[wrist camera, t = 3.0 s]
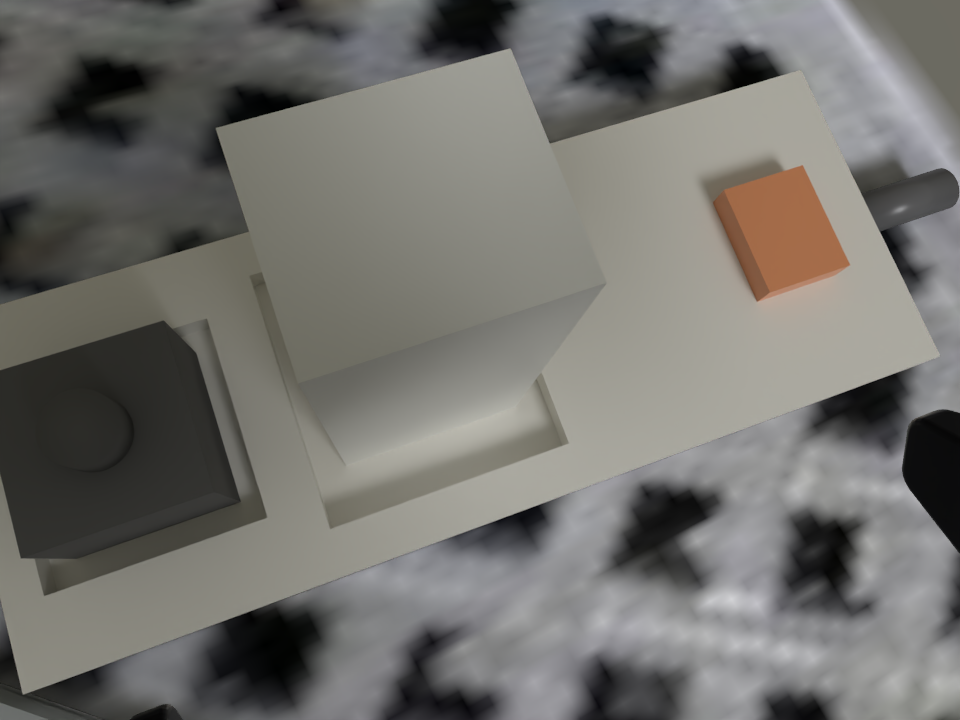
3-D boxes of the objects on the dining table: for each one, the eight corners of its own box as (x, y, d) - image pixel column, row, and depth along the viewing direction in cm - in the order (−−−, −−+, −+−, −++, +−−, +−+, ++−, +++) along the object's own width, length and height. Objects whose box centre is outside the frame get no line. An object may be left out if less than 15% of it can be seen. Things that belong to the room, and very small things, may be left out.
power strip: (860, 75, 26) (905, 27, 24) (992, 337, 24) (1055, 313, 22) (-32, 340, 22) (-84, 313, 19) (52, 684, 20) (6, 700, 18)
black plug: (196, 352, 21) (150, 306, 17) (240, 502, 20) (203, 488, 17) (36, 403, 21) (-48, 366, 17) (76, 558, 20) (-3, 558, 16)
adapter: (518, 406, 22) (611, 281, 12) (346, 465, 21) (298, 383, 11) (466, 268, 22) (515, 47, 13) (298, 321, 22) (215, 128, 12)
